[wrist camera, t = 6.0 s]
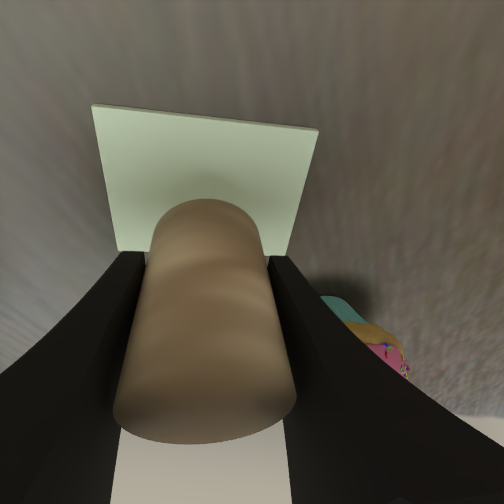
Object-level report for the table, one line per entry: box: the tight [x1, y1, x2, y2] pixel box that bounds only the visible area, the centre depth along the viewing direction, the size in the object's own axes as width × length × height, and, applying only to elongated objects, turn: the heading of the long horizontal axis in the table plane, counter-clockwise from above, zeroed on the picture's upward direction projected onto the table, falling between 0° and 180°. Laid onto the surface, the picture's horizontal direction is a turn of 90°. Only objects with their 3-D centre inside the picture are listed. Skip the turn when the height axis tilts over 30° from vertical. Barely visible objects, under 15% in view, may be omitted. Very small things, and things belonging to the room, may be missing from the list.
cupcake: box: [320, 296, 410, 379], centre depth 17 cm, size 9×8×12 cm
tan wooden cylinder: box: [113, 199, 297, 444], centre depth 9 cm, size 4×4×6 cm
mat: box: [91, 103, 319, 256], centre depth 14 cm, size 9×7×1 cm
